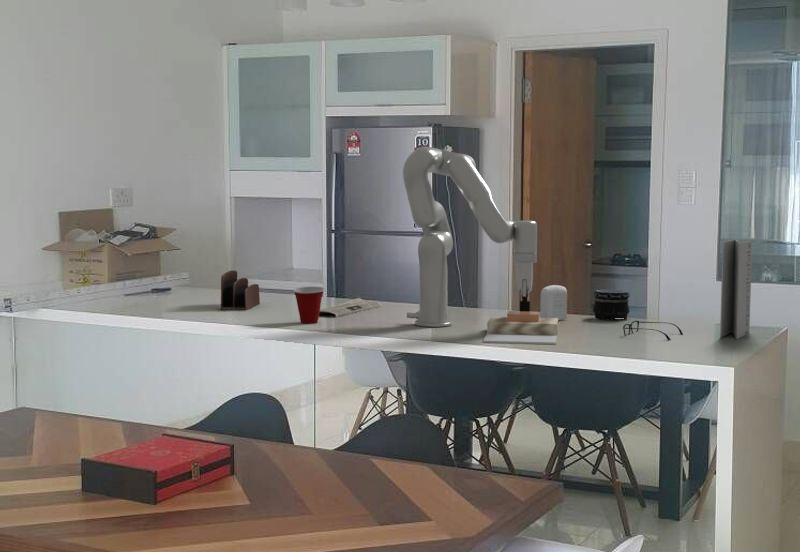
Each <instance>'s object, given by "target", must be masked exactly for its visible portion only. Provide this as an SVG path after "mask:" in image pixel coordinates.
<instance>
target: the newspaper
mask: <svg viewBox="0 0 800 552" xmlns="http://www.w3.org/2000/svg"><path fill="white" fill-rule="evenodd" d="M378 307H381V308H382V307H383V305H382V303H381V302H379V301H377V300H376V301H375V300H365V299H362V298H360V297H357V298H355V299H352V300H348V301H347V302H344V303H341V304H337V305H335V306H329V307H325V308H320V313H319V317H320V316H325V315H324V314H326V315H330V314H332V315H331V316H329V317H330V318H336V319H337V318H341V317H346V316H350V315H349V314H351V315H354V314H353V313H355V314H358V313H357V312H359V313H362V312H361V311H364V312H366V311H365V310H368V311H371V310H370V309H372V310H375V309H374V308H377V309H379V308H378ZM345 315H346V316H345Z"/></svg>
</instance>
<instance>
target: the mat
mask: <svg viewBox="0 0 800 552" xmlns="http://www.w3.org/2000/svg"><path fill="white" fill-rule="evenodd" d="M557 340H558V335H557V336H553V335H513V334H487V333H486V335H485V337H484V338H483V340H482V343H484V344H521V345H522V344H523V345H524V344H525V345H528V344H529V345H554V346H555V345H557Z"/></svg>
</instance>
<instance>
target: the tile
mask: <svg viewBox="0 0 800 552" xmlns="http://www.w3.org/2000/svg"><path fill="white" fill-rule="evenodd" d="M506 317H507V321H516V322H539V318H540V311H530V312H527V311H520V310H519V311H518V310H509V311H507V313H506Z"/></svg>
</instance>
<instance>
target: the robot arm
mask: <svg viewBox="0 0 800 552" xmlns="http://www.w3.org/2000/svg"><path fill="white" fill-rule="evenodd" d="M476 164H477V163H476V162H475V159H473V157H472V156H470V155H469V154H466V153H460V152H454V151H450V150H444V149H441V148H437V147H429V146H422V147H419V148H417V149H415V150H413V152H411V153H410V155H409V156H408V157H407V158H406V160H405V162H404V165H403V168H402V169H403V170H402V178H403V184H404V188H405V191H406V195H407V201H408V204H409V207H410V211H411V216H412V220H413V222H414V224H415V225H416V226H417V227H419V228H420V229H421V231H422V234H423V235H422V236H421V238H420V239H419V242H418V245H417V257H418V266H419V267H418V268H419V269H418V270H419V272H418V273H419V276H418V277H419V278H418V279H419V310H418V311H416V312H406V318H407V319H416V320H415V321H414V325H415V326H419V327H426V328H427V327H429V328H435V327H436V328H437V327H438V328H439V327H449V326H451V325H453V321H452V320H450V319H448V285H449V281H448V275H449V274H448V273H449V272H448V259H447V256H448V255H449V254H450V253H451V252H452V250H453V248H454V239H453V234H452V231H451V227H450V224H449V221H448V216H447V212H446V210H445V208H444V206H443V205H442V204H441V203H440V202H439V201H436V200H435V197H434V194H433V189H432V186H431V183H430V180H429V173H432V174H437V175H441V176H444V177H445V176H446V177H450V178H451V180H452V181H453V183H454V184H455V186H456V187H457V189H458V190H459V191H460V193H461V194H462V197H463V198H464V199H465V201H466V202H467V203H468V205H469V207H470V210H471V211H472V214H473V215H474V216H475V218H476V220H477V222H478V223H479V225H480V227H482V228H481V229H483V231H484V232H485V234H486V235H487V236H488V238H489V239H490V240H491V241H492V242H494V243H496V244H503V243H508V242H513V244H514V246H513V247H514V248H513V263H516V275H515V276H516V278H515V279H516V283H515V285H516V288H515V289H516V290H515V292H516V293H517V294H518V293H519V292H520V300H519V311H527V312H531V300H530V293H531V292H532V290H533V282H534V281H533V280H534V264H536V263H537V262H538V224H537V222H536V221H534V220H525V219H524V220H511V219H505V218H504V217H503V216H502V214H501V212H500V211H499V209H498V208H497V207H496V204H495V202H494V201H493V196H492V192H491V189H490V187H489V186H488V184H487V183H486V181H485V180H484V178H483V177H482V176H481V174H480V173H479V171H478V169H477V165H476Z"/></svg>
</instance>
